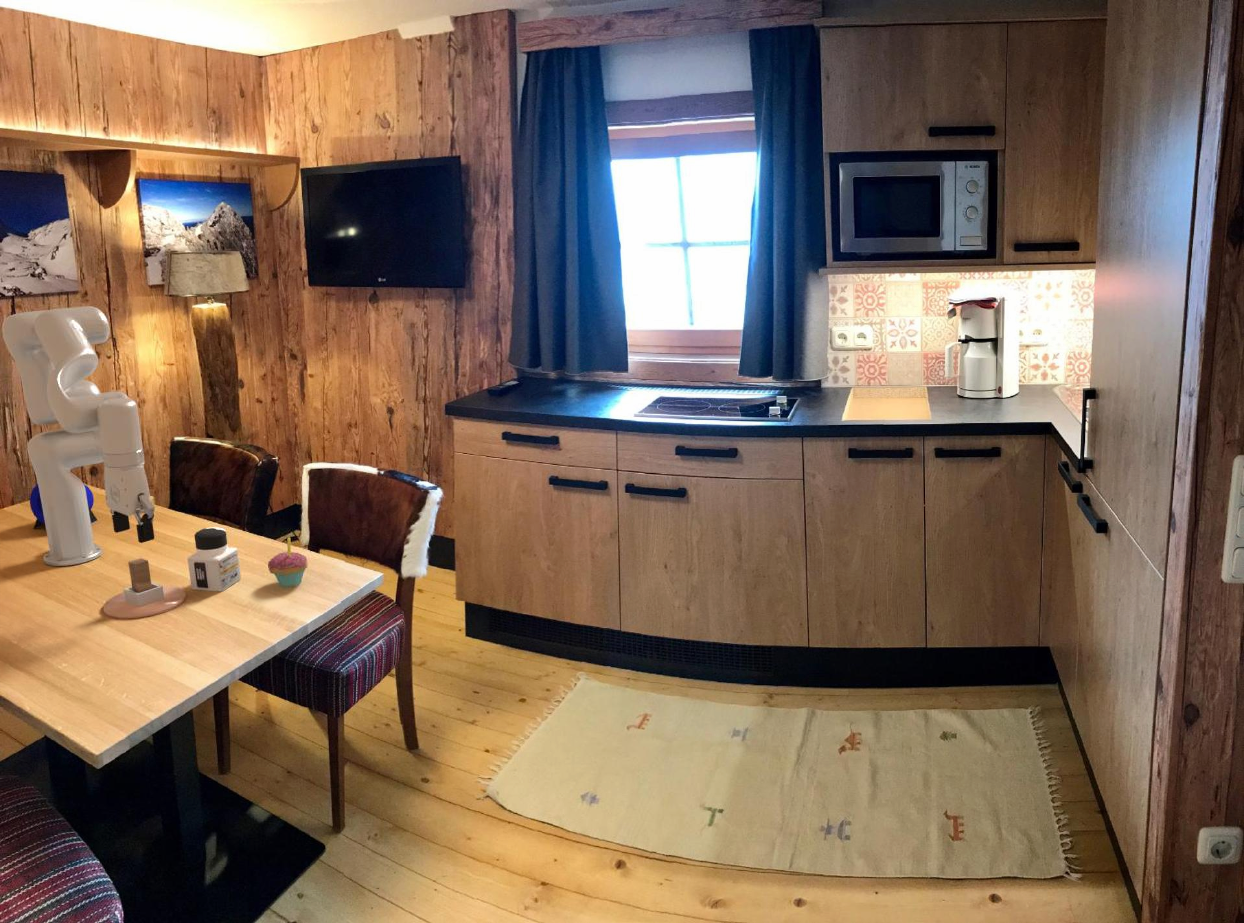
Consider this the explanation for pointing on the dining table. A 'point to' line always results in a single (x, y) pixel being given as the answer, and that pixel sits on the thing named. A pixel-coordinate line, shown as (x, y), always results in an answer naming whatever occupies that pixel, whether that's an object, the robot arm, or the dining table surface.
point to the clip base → (144, 602)
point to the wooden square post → (140, 575)
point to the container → (213, 561)
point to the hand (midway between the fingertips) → (134, 535)
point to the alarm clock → (38, 510)
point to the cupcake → (288, 567)
